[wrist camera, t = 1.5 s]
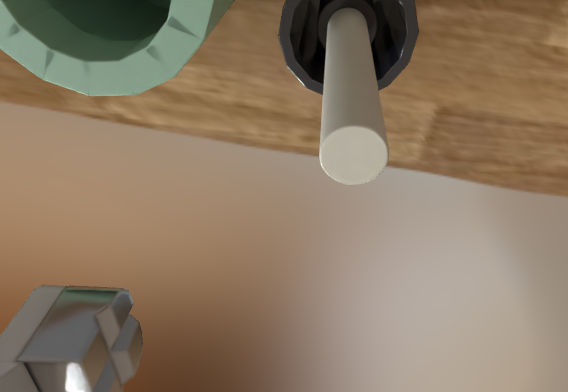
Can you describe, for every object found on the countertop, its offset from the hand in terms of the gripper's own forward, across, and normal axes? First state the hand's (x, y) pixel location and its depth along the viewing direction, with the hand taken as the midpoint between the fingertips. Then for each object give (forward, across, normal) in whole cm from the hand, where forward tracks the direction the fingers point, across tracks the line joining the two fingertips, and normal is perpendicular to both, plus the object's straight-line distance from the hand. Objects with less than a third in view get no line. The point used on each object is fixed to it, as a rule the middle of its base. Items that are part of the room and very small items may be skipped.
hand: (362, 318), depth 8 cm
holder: (+23, 0, 0) cm, 23 cm away
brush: (+22, 0, 0) cm, 22 cm away
